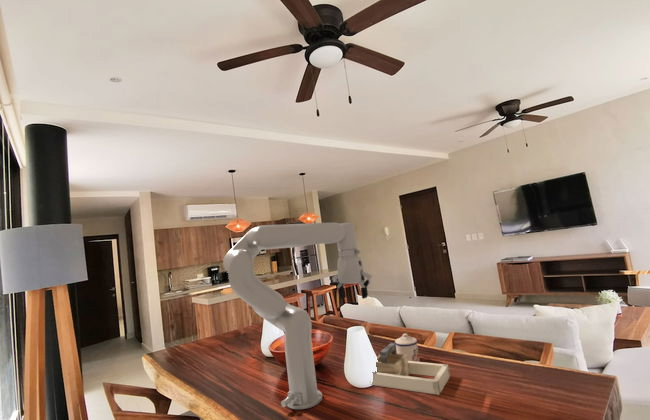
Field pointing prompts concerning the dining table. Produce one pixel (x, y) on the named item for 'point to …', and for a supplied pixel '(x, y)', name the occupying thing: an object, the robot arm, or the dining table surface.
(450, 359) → the dining table surface
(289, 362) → the robot arm
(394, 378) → the bay
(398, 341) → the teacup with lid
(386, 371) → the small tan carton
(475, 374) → the dining table surface
